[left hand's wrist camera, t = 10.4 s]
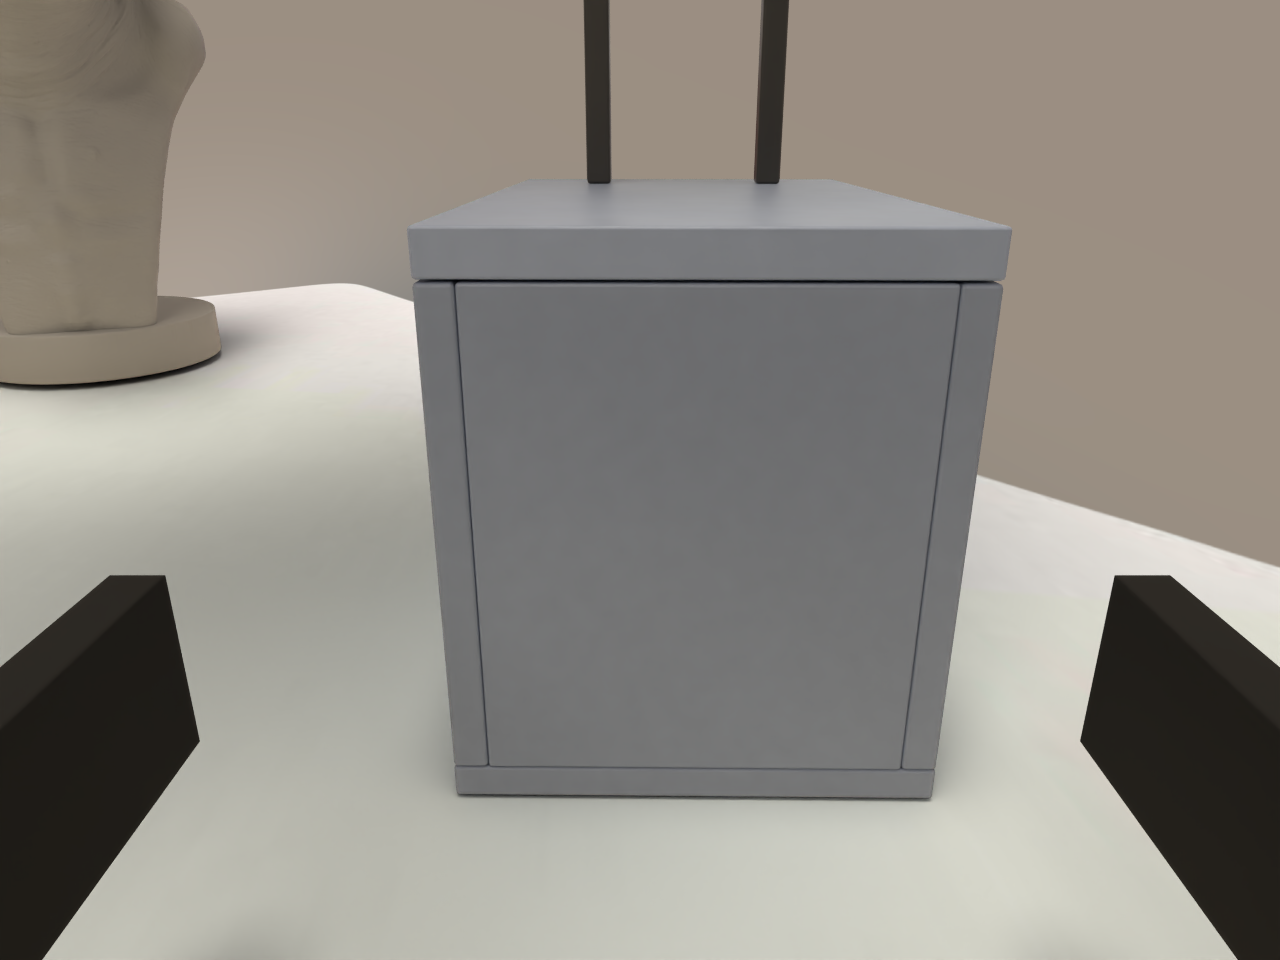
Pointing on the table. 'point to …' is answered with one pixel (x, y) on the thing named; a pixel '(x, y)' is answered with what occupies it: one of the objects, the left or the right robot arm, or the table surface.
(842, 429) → the chest
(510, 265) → the lid
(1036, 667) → the table surface
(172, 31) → the bust sculpture
